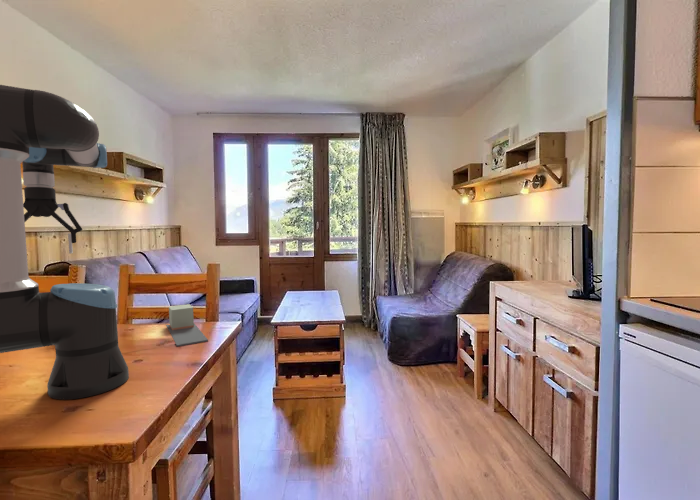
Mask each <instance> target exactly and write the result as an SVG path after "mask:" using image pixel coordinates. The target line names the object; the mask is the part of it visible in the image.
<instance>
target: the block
mask: <svg viewBox="0 0 700 500" xmlns="http://www.w3.org/2000/svg"><path fill="white" fill-rule="evenodd" d="M168 318H169V319H168V322H169V324H170V327H171V329H172V330H177V329H183V328H190V327H194V324H195V322H194V321H195V319H194V307H193V305H191V304H190V303H188V304H180V305H171V306H168Z"/></svg>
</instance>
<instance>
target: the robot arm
mask: <svg viewBox="0 0 700 500" xmlns="http://www.w3.org/2000/svg"><path fill="white" fill-rule="evenodd" d="M97 124H98V123H96V121H95V119H94V118H93V117H92V116H91V115H90V114H89V113H88V112H87V111H86V110H85V109H83V108H82V107H81V106H79V105H78V104H76V103H74V102H72V101H71V100H69V99H66V98H65V97H62V96H60V95H59V94H54V93H53V92H48V91H46V90H45V91H44V90H40V89H29V88H23V87H19V86H17V87H16V86H10V85H4V84H0V354H3V353H10V352H11V353H12V352H15V351H16V352H18V351H23V350H30V349H36V348H37V349H38V348H42V347H43V348H45V347H49V346H54V348H55V360H54V363H53V366H52V369H51V372H50V375H49V378H48V381H47V386H46V387H47V396H48V397H49V398H50V399H51V398H52V399H54V400H76V399H82V398H83V399H84V398H88V397H93V396H95V395H100V394H103V393H107V392H109V391H111V390H114V389H116V388H118V387H120V386H122V385H124V384H125V383H126V382H127V381H128V380H129V378H130V374H129V373H130V371H129V366H128V365H127V361H126V360H125V358H124V356H123V353H122V351H121V349H120V346H119V333H118V319H117V317H118V316H117V308H118V305H117V302H116V300H117V299H116V293H115V290H114V289H113V288H112V287H110V286H108V285H105V284H96V283H82V282H81V283H79V282H78V283H74V282H73V283H59V284H53V285H51V288H50V291H47V292H46V291H45V292H40V289H39V283H38V282H36V281H35V280H33V279H32V278H30V275H29V267H28V266H29V263H28V253H27V251H28V249H27V240H26V239H27V238H26V237H27V236H26V224H25V223H26V222H27V221H28V220H29V219H30V218H32V217H35V218H41V217H43V218H47V217H48V218H49V217H52V218H54V219H55V220H56V221H57V222H58V223H60V225H62V226H63V227H64V228H65V229H67V231H68V232H70V233H68V234H67V239H68V240H67V241H68V254H73V253H74V249H73V244H76V242H77V233H79V232H82V231H83V228H82V226H81V225H80V224H79V222H78V220H77V218H76V217H75V215H74V214H73V213H72V211H71V210H70V206H69V204H68V203H67V202H64V203H57V198H56V197H57V196H56V189H55V187H56V183H55V182H56V181H55V172H54V170H55V169H54V166H67V167H69V166H70V167H80V168H81V167H82V168H92V169H99V168H101V169H102V168H103V169H104V168H107V167H108V153H107V146H106V144H104V143H98V141H99V137H100V131H99V128H98V125H97ZM21 164H22V168H21ZM21 169H22V170H21ZM22 178H23V179H22ZM22 180H23V181H22ZM23 185H24V186H25V187H24V188H23ZM23 191H24V193H23ZM23 195H24V196H23ZM23 197H24V198H23ZM59 208H60V210H61V211H64V212H65V214H66V215H67V217H68V218H69V220H70V221H71V223H72V224H73V226H74V227H75V228H73V226H71V225H70V224H69V223H68V222H66V221H65V220H64V219H63V218H62V217H61V216H60V215H59V214H57V213H56V211H57V210H58V209H59ZM25 210H26V212H25Z"/></svg>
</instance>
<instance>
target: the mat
mask: <svg viewBox="0 0 700 500" xmlns="http://www.w3.org/2000/svg"><path fill="white" fill-rule="evenodd" d="M165 326H166V328H167V329H168V332H169V334H170V336H171V337H172V339H173V341H174V343H175V345H176V347H177V348H178V347H182V346H183V347H184V346H188V345H189V346H190V345H194V344H200V343H201V344H202V343H205V342H209V338H207V337H206V335H205V334H204V333H203V332H202V331H201V329H200V328H199V327H198V326H197V325H196V324H195V323H194V327H190V328H183V329H177V330H172V329H171V327H170V325H166V324H165Z"/></svg>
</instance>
